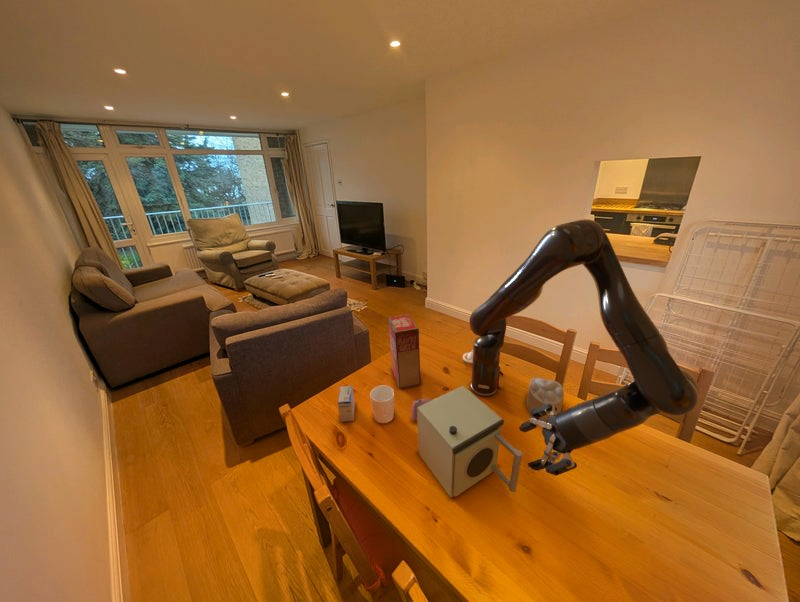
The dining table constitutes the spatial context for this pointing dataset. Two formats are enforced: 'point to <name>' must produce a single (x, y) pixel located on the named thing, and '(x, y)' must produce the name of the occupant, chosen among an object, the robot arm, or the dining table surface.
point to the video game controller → (417, 404)
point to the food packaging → (405, 350)
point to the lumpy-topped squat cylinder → (545, 395)
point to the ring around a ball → (468, 357)
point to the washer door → (484, 463)
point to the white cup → (382, 403)
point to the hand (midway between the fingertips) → (525, 447)
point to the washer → (452, 430)
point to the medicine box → (346, 403)
